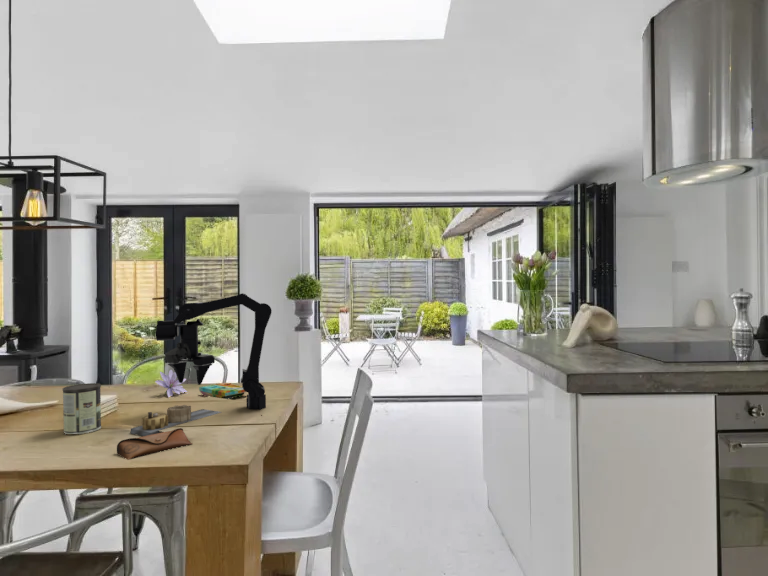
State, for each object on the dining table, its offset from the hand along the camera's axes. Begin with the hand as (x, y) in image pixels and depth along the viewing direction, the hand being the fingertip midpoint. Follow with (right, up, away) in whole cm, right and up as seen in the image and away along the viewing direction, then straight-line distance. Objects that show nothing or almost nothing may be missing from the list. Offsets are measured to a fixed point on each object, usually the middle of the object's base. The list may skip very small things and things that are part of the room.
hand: (190, 383), depth 162 cm
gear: (0, -10, -8) cm, 13 cm away
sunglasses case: (+4, -12, -32) cm, 35 cm away
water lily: (-23, -13, +37) cm, 46 cm away
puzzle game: (0, -13, +34) cm, 36 cm away
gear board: (0, -12, -8) cm, 14 cm away
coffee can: (-29, -12, -14) cm, 34 cm away
